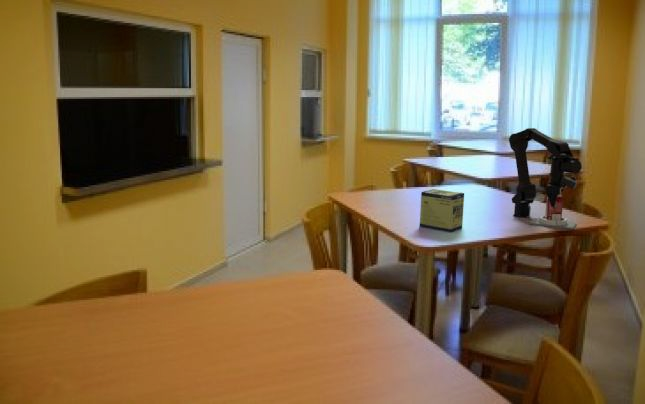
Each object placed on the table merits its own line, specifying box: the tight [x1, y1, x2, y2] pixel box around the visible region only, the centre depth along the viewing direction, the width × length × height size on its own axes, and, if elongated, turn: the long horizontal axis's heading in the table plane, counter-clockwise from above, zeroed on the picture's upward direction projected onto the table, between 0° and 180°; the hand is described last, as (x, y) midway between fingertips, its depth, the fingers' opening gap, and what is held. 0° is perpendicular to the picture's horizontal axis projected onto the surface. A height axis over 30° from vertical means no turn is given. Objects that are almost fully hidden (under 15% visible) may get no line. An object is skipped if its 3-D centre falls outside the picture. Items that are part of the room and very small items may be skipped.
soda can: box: [544, 194, 564, 221], centre depth 260 cm, size 7×7×12 cm
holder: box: [528, 215, 577, 231], centre depth 261 cm, size 18×12×3 cm, turn 59°
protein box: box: [419, 189, 465, 233], centre depth 251 cm, size 10×16×16 cm
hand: (554, 205), depth 260 cm, fingers closed on soda can, 7 cm apart
